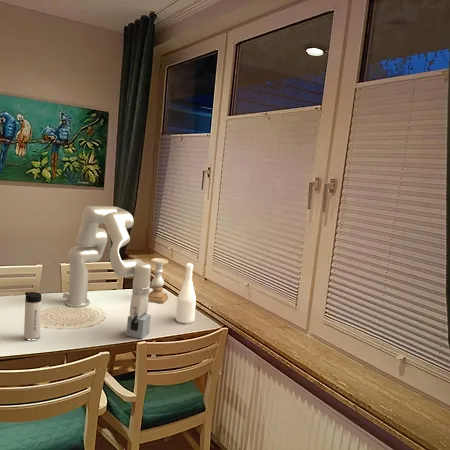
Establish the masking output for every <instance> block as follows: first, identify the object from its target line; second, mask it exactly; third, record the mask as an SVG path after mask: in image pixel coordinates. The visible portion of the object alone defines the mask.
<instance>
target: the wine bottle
mask: <svg viewBox="0 0 450 450" xmlns="http://www.w3.org/2000/svg"><path fill="white" fill-rule="evenodd" d="M193 269H194V264H193V263H191V262H190V263H189V262H188V263H186V264H185V278H184V281H183V283H182V286H181V288H180V291H179V293H178V295H177V301H176V310H175V311H176V312H175V321H176V322H177V323H180V324H187V325H189V324H192V323H193V322H194V321H195V316H196V302H197V297H196V292H195V288H194V283H193Z"/></svg>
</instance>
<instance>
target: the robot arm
mask: <svg viewBox="0 0 450 450" xmlns="http://www.w3.org/2000/svg"><path fill="white" fill-rule="evenodd" d="M81 219H82V220H81V223H80V226H79V229H78V233H77V235H76V244H77V245H75V246H73V247H71V248H70V249H69V251H68V260H69V282H68V293H66V292H65V293H63V295H62V298H63V299H66V300H65V301H64V303H65V305H66V306H68V307H73V308H79V307H80V308H81V307H86V306H89V304H90V303H91V302H90V301H91V300H90V299H88V290H89V289H88V288H89V287H88V285H89V270H88V267H87V266H86V264H89V263H96V262H99V261H100V260H101V259H102V257H103V254H104V251H105V250H106V249H105V248H106V246H107V244H108V236H109V238H110V240H111V242H112V246H111V248H110V250H109V262H110V264H111V267H112V270H113V273H114V274H115V275H116V276H117V277H119V278H127V277H131V276H132V278H133V280H132V291H131V292H132V295H131V299H130V305H129V306H130V307H129V316H130V319H131V330H134V331H137V330H138V322H137V321H138V318H139V316H141V315H143V314H147V312H148V310H149V309H148V308H149V302H148V294H149V293H150V287H151V273H152V265H151V264H150V263H149V262H148V263H147V262H145V261H143V260H141V259H140V258H139V259H138V258H133V259H123V260H122V258H121V255H120V249H121V248H122V247H124V246H126V245H127V244H129V242H130V240H131V237H130V235H129V232H128V229H130V228H132V227H133V225H134V217H133V215H132V213H130V212H129V211H127V210H125V209H123V208H120V207H118V206H111V205H110V206H108V205H105V206H103V205H102V206H99V205H96V206H95V205H87V206H86V207H85V208H84V209H83V211H82V218H81ZM99 224H104V225H105V227H106V228H105V229H106V230H107V231H106V230H105V229H104V228H102V227H99ZM135 314H138V315H135ZM134 317H136V319H135V318H134Z"/></svg>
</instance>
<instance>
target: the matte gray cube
mask: <svg viewBox="0 0 450 450" xmlns="http://www.w3.org/2000/svg"><path fill="white" fill-rule="evenodd" d="M135 315H138V314H135ZM151 316H152V315H151V314H143V315H141V316H139V318H138V321H137V322H138V330H137V331H134V330H131V319H130V315H129V316H127V323H126V333H125V334H126V335H125V336H127V337H131V338H135V339H140V340H142V339H144V338H145V337H147V336H148V334H150V325H151ZM134 318H135V319H136V317H134Z"/></svg>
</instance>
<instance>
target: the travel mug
mask: <svg viewBox="0 0 450 450" xmlns="http://www.w3.org/2000/svg"><path fill="white" fill-rule="evenodd" d="M24 295H25V302H24V321H23V322H24V325H23V327H24V328H23V329H24V330H23V339H24V338H25V339H31V340H32V339H38V338H39V337H40V338H41V320H42V319H41V317H42V294H41V293H40V292H36V291H26V292H25V293H24ZM40 338H39V339H40ZM25 339H24V340H25ZM39 339H38V340H39Z"/></svg>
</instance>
